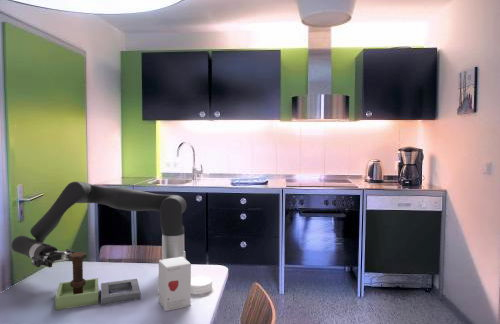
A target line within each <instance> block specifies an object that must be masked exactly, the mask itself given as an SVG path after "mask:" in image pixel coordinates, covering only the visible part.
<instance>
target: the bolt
mask: <svg viewBox="0 0 500 324" xmlns="http://www.w3.org/2000/svg"><path fill="white" fill-rule="evenodd" d="M84 259H87V253H86V252H83V251H78V252H76V251H75V253H72V254H70V255H69V260H68V261H70V260H71V261H70V262H72V280H71V281H69V282H70V286H71V287H72V288H73V294H81V293H83V286H84V285H85V284H86V281H85V280H86V279H85V278H84V277H83V275H84V272H83V271H84V270H83V269H84V266H83V264H84V263H83V262H84Z"/></svg>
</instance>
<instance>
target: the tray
mask: <svg viewBox="0 0 500 324" xmlns="http://www.w3.org/2000/svg"><path fill="white" fill-rule="evenodd" d="M85 281H86V284H85V285H84V286H83V293H81V294H73V288H72V287H71V286H70V282H71V281H64V282H59V283H58V288H57V291H56V295H55V298H54V299H55V301H54V303H55V311H57V310H58V311H60V310H64V309H70V308H76V307H77V308H78V307H83V306H89V305H97V304H99V278H98V277H95V278H89V279H87V278H86V279H85Z"/></svg>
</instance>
